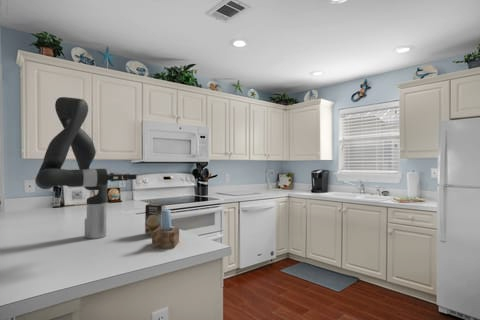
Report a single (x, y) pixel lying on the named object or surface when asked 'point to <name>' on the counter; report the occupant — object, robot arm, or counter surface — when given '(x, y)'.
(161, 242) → the socket block
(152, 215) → the coffee box
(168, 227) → the peg
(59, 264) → the counter surface
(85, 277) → the counter surface
